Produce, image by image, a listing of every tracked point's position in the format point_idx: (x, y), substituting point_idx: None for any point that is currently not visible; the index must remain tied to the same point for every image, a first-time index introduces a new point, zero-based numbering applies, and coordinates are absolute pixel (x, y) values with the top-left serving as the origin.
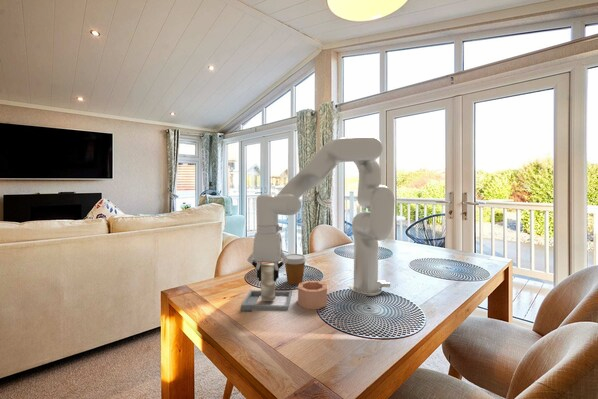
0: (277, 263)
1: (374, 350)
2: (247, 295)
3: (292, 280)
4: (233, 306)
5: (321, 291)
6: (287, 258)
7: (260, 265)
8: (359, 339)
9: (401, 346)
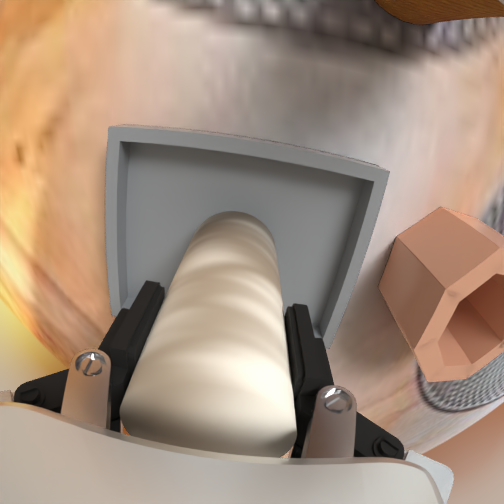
0: (335, 445)
1: (434, 435)
2: (106, 208)
3: (410, 9)
4: (76, 249)
5: (480, 365)
6: (449, 489)
7: (107, 390)
8: (436, 418)
9: (474, 419)
